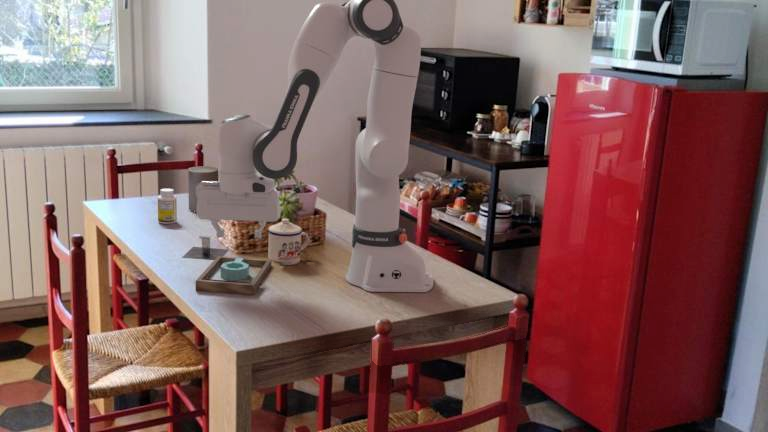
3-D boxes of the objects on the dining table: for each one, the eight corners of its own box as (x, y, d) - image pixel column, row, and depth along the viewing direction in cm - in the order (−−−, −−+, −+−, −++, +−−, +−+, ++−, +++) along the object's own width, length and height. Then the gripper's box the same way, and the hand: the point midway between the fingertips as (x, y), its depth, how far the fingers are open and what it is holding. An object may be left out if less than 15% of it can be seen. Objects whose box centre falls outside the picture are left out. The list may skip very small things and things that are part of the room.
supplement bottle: (166, 218, 253) (166, 186, 251) (180, 221, 251) (180, 189, 248) (154, 222, 248) (153, 189, 246) (167, 225, 246) (167, 192, 243)
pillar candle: (221, 207, 271) (220, 162, 268) (215, 214, 262) (215, 168, 258) (191, 205, 271) (191, 161, 267) (185, 212, 262) (184, 167, 258)
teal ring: (245, 282, 199) (245, 270, 198) (218, 280, 199) (219, 268, 198) (252, 270, 208) (252, 258, 207) (227, 268, 208) (227, 257, 207)
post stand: (229, 253, 223) (229, 233, 221) (219, 264, 213) (219, 243, 212) (193, 250, 223) (193, 230, 222) (181, 261, 214) (181, 240, 212)
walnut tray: (271, 269, 211) (271, 260, 211) (253, 295, 192) (253, 285, 192) (218, 265, 212) (218, 256, 212) (195, 290, 193) (195, 280, 192)
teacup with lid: (278, 268, 213) (279, 225, 210) (261, 258, 220) (261, 217, 217) (316, 261, 220) (318, 220, 217) (298, 252, 227) (300, 212, 224)
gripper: (191, 183, 194) (193, 239, 197) (276, 186, 192) (277, 242, 196) (199, 178, 200) (201, 232, 203) (281, 180, 198) (282, 235, 202)
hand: (239, 237), depth 200 cm, fingers open, 8 cm apart
